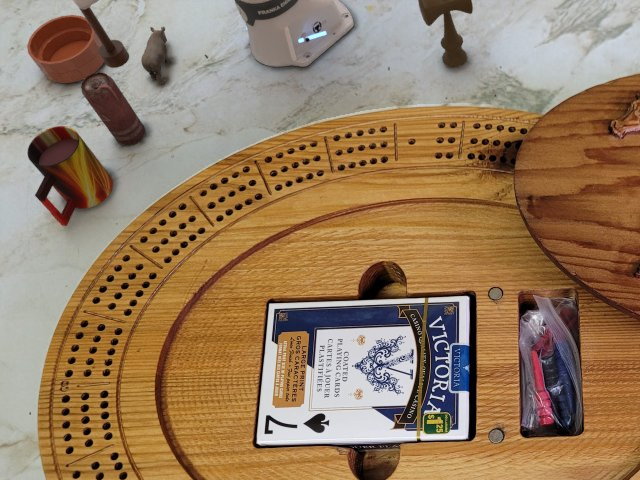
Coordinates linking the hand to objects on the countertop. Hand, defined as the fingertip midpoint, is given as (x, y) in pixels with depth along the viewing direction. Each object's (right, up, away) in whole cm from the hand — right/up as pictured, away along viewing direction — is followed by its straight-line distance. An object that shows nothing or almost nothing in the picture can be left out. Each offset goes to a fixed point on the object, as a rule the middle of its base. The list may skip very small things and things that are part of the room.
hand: (82, 1), depth 138 cm
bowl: (-22, +5, +39) cm, 45 cm away
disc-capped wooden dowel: (+1, -5, +11) cm, 12 cm away
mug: (-10, -28, +22) cm, 37 cm away
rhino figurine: (-2, +4, +37) cm, 37 cm away
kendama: (+61, +2, +30) cm, 68 cm away
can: (-5, -14, +28) cm, 32 cm away
